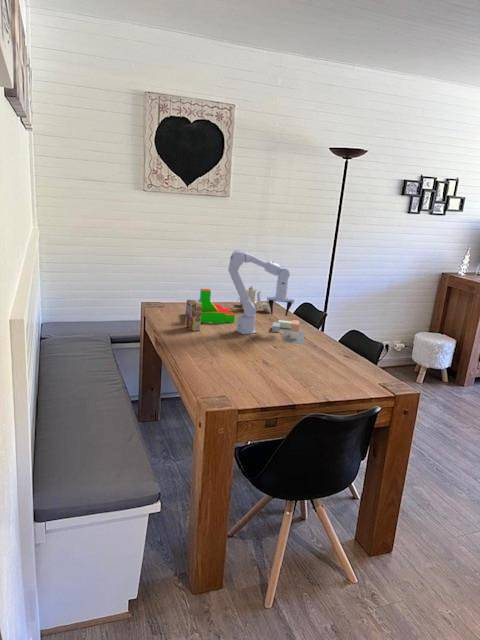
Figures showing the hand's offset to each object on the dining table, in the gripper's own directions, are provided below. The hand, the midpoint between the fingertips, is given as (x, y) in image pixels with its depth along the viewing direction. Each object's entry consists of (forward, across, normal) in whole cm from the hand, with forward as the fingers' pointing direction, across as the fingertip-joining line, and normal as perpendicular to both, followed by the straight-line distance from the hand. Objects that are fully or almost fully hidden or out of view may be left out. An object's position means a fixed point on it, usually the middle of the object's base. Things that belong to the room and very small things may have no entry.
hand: (278, 314), depth 256 cm
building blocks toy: (+11, -39, +15) cm, 43 cm away
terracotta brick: (+6, +9, -5) cm, 12 cm away
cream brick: (+10, +9, -5) cm, 14 cm away
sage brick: (+11, +4, +12) cm, 17 cm away
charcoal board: (+10, +9, -5) cm, 15 cm away
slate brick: (+11, -1, +4) cm, 11 cm away
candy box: (+11, -45, -9) cm, 47 cm away
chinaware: (+11, -18, +47) cm, 51 cm away
